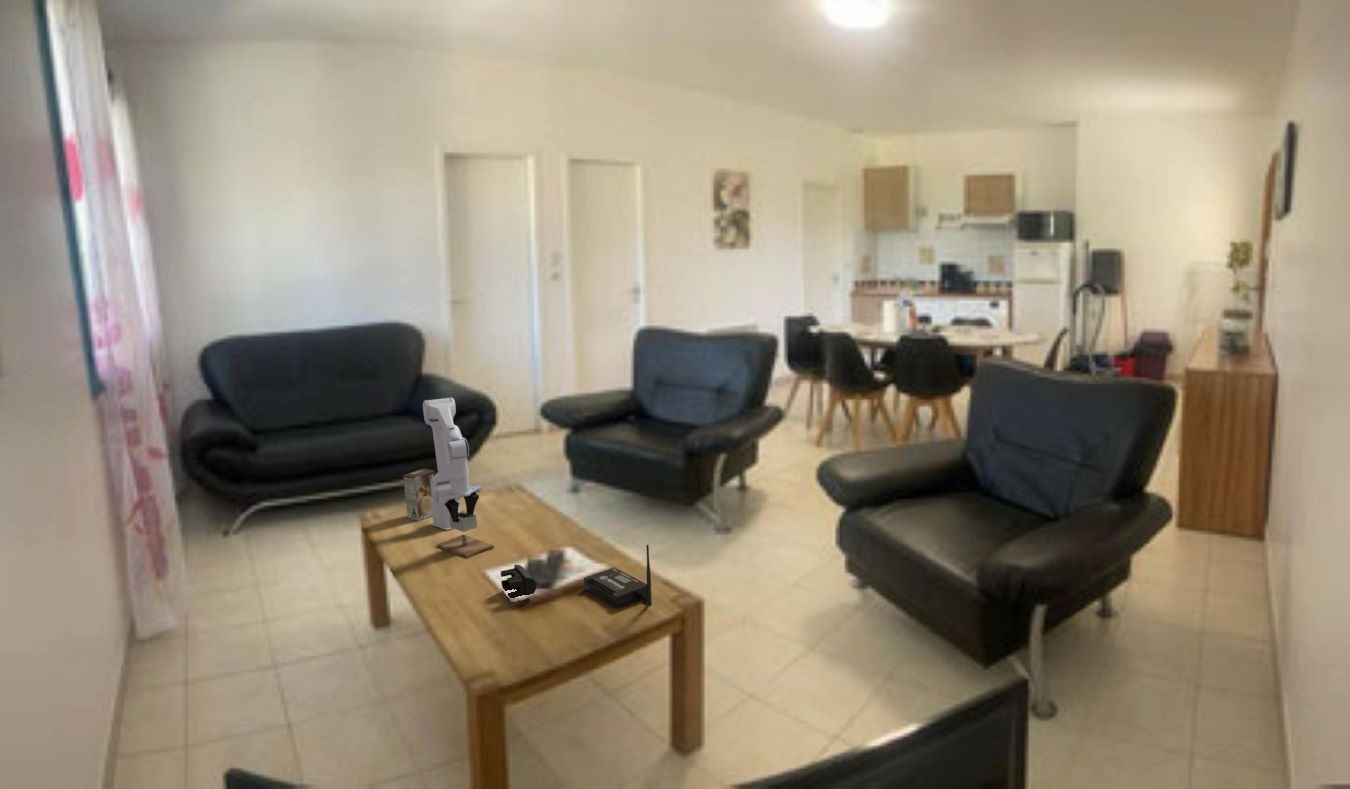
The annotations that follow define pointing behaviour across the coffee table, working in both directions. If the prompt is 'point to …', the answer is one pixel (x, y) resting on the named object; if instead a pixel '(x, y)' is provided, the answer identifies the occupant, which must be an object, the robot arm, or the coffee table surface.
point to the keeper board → (465, 546)
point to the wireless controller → (619, 587)
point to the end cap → (518, 582)
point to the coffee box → (419, 493)
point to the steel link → (464, 522)
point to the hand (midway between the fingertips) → (463, 519)
